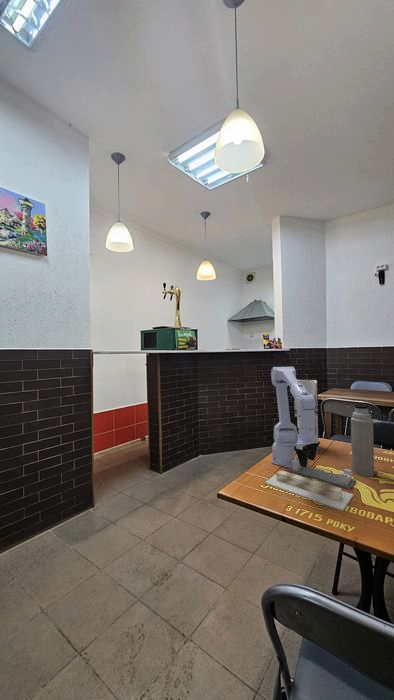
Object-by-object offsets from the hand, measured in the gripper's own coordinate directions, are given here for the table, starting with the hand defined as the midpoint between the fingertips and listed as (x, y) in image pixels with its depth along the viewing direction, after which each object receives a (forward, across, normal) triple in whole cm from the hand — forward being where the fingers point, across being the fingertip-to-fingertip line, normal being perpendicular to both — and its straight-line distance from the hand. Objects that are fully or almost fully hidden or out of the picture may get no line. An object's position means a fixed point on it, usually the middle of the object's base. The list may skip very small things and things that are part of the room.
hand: (307, 463), depth 104 cm
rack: (+9, +12, 0) cm, 16 cm away
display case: (+10, +39, +16) cm, 44 cm away
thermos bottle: (+10, +28, -12) cm, 32 cm away
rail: (+9, -2, 0) cm, 9 cm away
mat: (+9, -2, 0) cm, 9 cm away
